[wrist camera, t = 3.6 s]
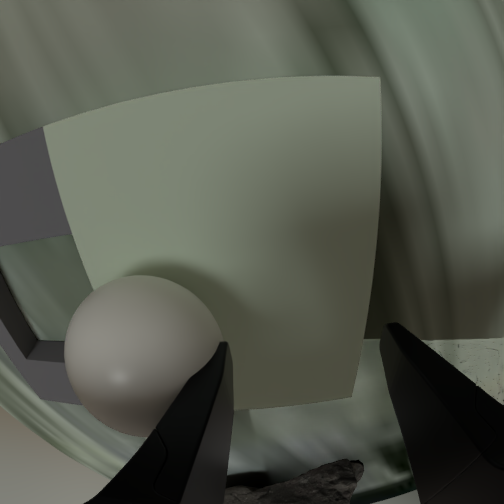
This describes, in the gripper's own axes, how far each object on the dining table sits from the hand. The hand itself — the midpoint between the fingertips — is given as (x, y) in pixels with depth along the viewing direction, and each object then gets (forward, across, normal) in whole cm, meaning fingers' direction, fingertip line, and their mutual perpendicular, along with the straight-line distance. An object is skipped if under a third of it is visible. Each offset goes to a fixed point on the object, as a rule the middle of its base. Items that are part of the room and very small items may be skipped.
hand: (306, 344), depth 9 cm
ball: (0, +5, 0) cm, 5 cm away
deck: (+4, +6, 0) cm, 7 cm away
